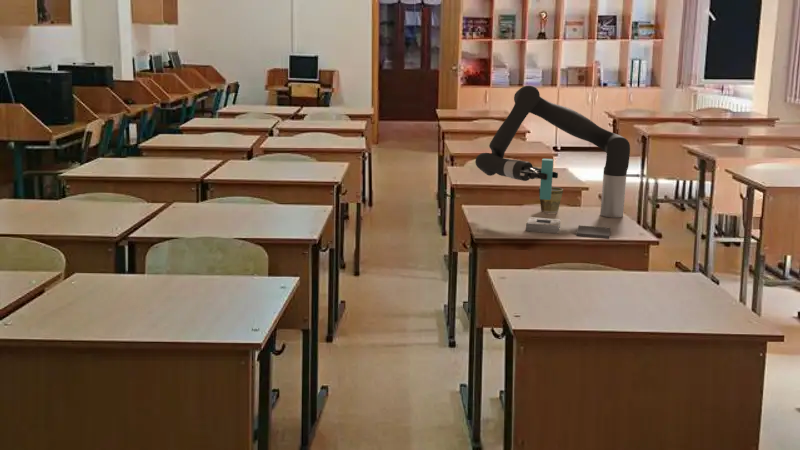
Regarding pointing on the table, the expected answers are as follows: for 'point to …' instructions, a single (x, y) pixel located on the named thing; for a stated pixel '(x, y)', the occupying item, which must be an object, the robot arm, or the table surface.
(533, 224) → the socket block
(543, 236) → the table surface
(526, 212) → the table surface
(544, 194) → the teal peg
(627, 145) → the robot arm
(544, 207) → the ceramic cup
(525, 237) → the table surface
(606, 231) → the rubber mat
